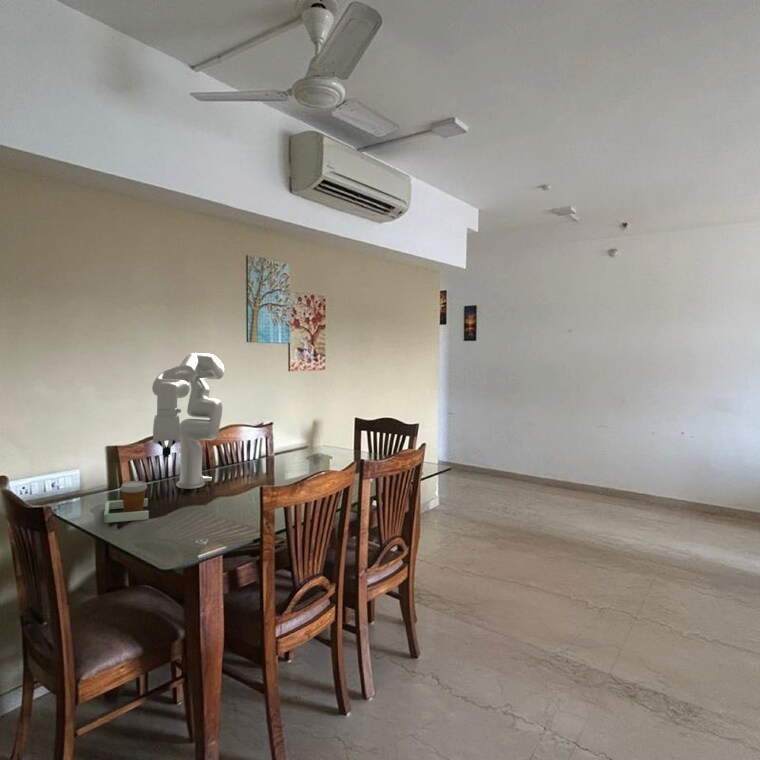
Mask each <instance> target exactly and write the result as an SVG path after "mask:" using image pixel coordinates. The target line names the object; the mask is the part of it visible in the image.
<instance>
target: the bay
mask: <svg viewBox="0 0 760 760" xmlns="http://www.w3.org/2000/svg"><path fill="white" fill-rule="evenodd" d="M148 506H149V498H144V504H143V507H144V508H145V507H148ZM117 509H124V506H123V499H120V500H119V499H118V500H106V501H105V508H104V512H103V513H104V514H103V523H104V524H106V523H107V524H108V523H117V522H130V521H141V520H149V517H150V515H149V514H150V513H149V512H150V510H142V511H136V512H124V511H123V512H113V513H112V512H111V513H110V510H117Z"/></svg>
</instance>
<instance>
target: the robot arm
mask: <svg viewBox="0 0 760 760" xmlns="http://www.w3.org/2000/svg"><path fill="white" fill-rule="evenodd" d="M224 375H225V368H224V364H223V363H222V361H221V360H220V359H219V358H218V357H217V356H216V355H214V354H211V353H201V352H200V353H198V352H195V353H194V352H191V353H189V354H187V356H186V357H184V359H183V360H182V362H181V363H180V364H179V365H178V366H177V365H176V366H174V367H172V368H169V369H166V370H164V371H162V372H161V373H159V374H158V376H157V377H156V378H155V380H154V381H153V384H152V388H151V389H152V392H153V394H154V395H155V397H156V396H157V397H156V399H157V400H156V401H157V402H156V415H154V419H153V427H152V436H153V437H152V443H153V444H156V445H159V446H160V447H161V448H162V456H164V458H169V457H170V456H171V452H172V451H171V450H172V447H173V446H174V445H175V444H178V443H180V468H179V470H180V472H179V473H180V474H179V481H177V482H176V485H175V486H176V487H177V488H179V489H183V490H184V489H185V490H187V489H188V490H189V489H190V490H192V489H193V490H194V489H198V488H202V487H204V486H205V484H206V482H211V481H212V480H213V477H212V476H209V475H205V476H204V475H203V473H202V470H203V446H202V443H201V442H200V440H201V441H214V440H216V439H217V438H218V435H219V433H220V427H221V421H222V415H223V403H222V401H221V400H220V399H217V398H212V397H211V398H210V392H211V391H210V387H209V385H208V384H207V383H206V382H205V380H220V379H222V378H223V377H224ZM189 383H190V384H189ZM190 388H191V389H190ZM189 392H190V394H189ZM188 395H189V398H188V404H187V409H186V410H187V411H186V413H187V415H188V416H190V417H191V418H185V419H184V420H181V422H180V415H179V413H181V412H182V409H181V408H178V399H182V398H185V397H187V396H188ZM166 441H168V442H167V446H166Z"/></svg>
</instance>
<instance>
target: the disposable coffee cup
mask: <svg viewBox="0 0 760 760" xmlns="http://www.w3.org/2000/svg"><path fill="white" fill-rule="evenodd" d="M119 488H120V491H121V494H122V495H121V497H122V500H123V506H124V508H123V512H136V511H144V508H143V504H144V499H146V498H145V496H146V490H147V488H148V486H147V482H145V481H141V480H132V481H126V482H123V483H122V484H121V486H120V487H119Z"/></svg>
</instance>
